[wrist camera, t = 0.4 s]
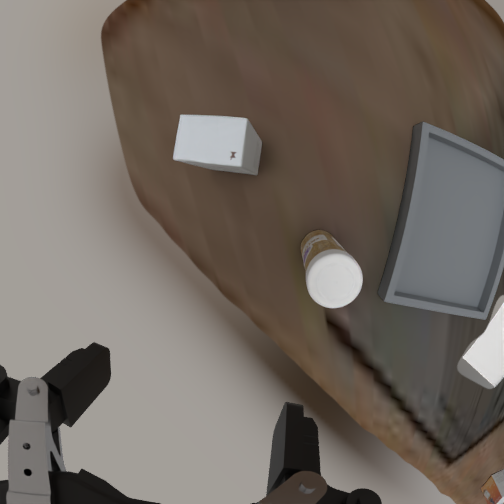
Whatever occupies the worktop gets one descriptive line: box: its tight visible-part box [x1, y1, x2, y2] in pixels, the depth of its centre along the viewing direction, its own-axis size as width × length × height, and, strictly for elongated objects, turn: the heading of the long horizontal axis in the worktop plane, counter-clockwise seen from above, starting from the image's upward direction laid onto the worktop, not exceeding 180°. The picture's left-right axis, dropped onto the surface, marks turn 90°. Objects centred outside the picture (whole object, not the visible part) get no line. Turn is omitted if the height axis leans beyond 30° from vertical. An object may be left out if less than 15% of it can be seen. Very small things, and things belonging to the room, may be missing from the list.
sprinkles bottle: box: [301, 230, 363, 308], centre depth 29 cm, size 5×5×13 cm
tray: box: [378, 122, 504, 320], centre depth 31 cm, size 22×18×3 cm
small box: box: [481, 469, 504, 504], centre depth 37 cm, size 8×6×10 cm
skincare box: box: [173, 115, 262, 175], centre depth 28 cm, size 6×4×12 cm
